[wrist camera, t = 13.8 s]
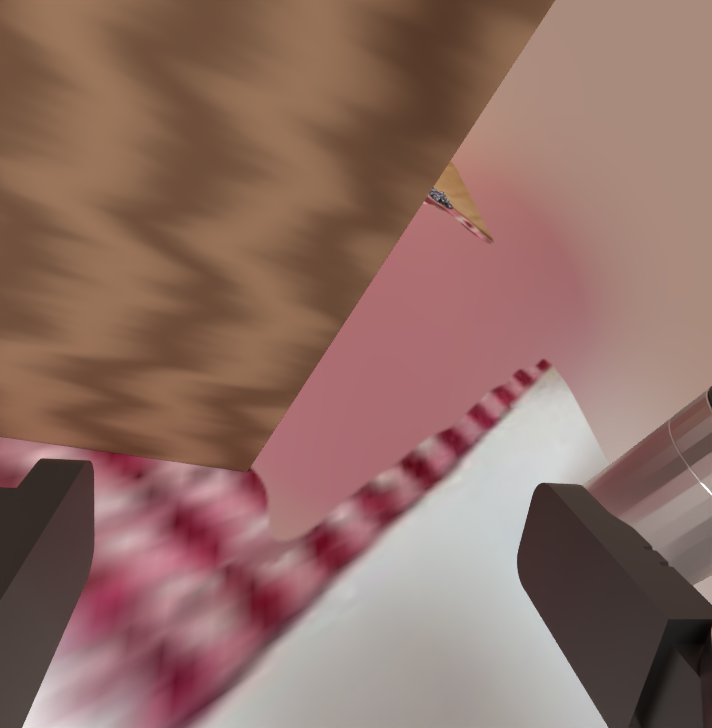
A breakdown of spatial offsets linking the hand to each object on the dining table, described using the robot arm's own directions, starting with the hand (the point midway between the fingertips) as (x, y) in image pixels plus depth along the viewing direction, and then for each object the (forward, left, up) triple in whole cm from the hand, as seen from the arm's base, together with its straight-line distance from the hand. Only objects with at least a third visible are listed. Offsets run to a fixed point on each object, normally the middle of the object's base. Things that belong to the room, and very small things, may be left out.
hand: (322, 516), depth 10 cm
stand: (+2, -23, -21) cm, 31 cm away
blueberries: (-43, -74, -21) cm, 88 cm away
